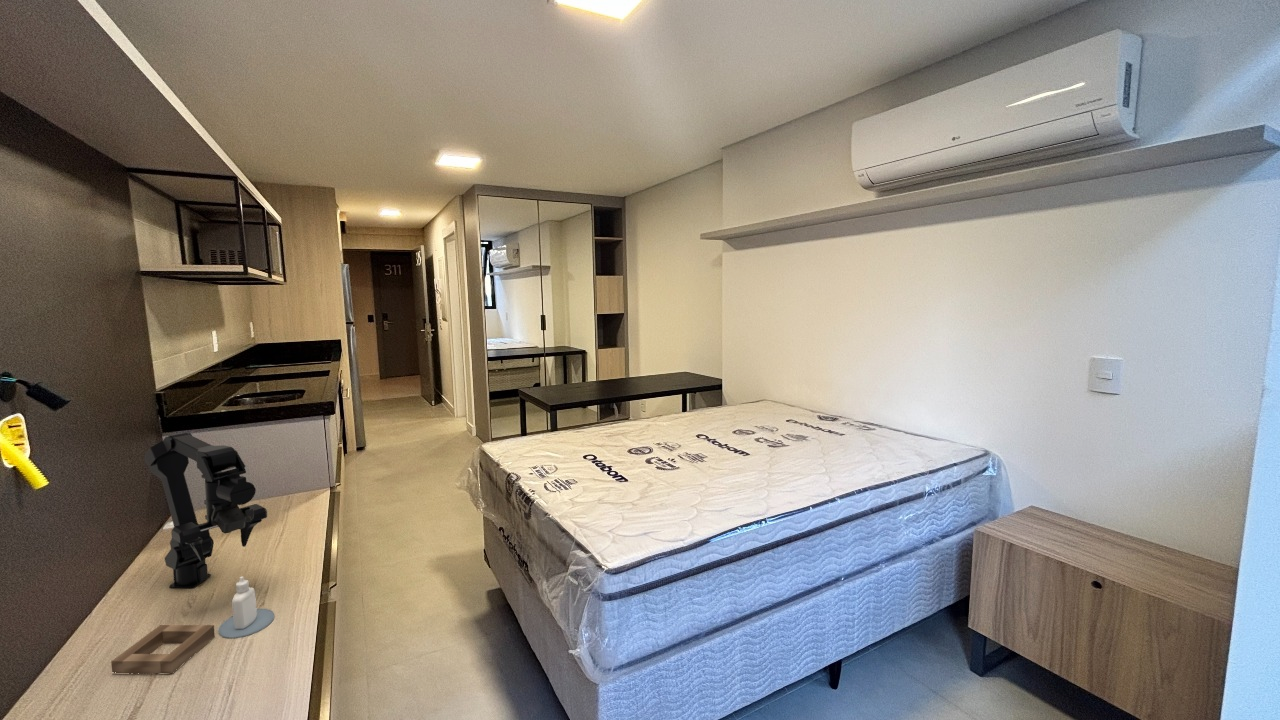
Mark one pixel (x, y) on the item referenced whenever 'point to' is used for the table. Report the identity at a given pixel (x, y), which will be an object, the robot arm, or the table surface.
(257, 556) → the table surface
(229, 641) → the table surface
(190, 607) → the table surface
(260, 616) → the slate-blue rubber mat
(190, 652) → the walnut socket block
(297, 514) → the table surface
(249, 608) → the eye dropper bottle
